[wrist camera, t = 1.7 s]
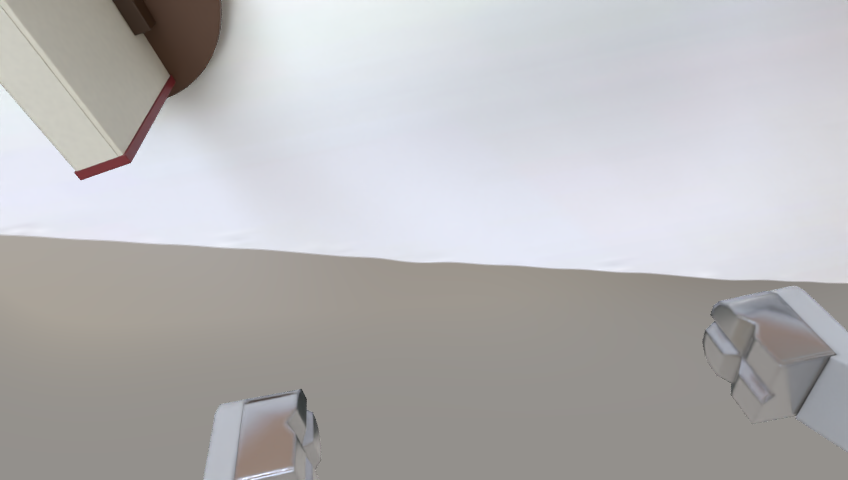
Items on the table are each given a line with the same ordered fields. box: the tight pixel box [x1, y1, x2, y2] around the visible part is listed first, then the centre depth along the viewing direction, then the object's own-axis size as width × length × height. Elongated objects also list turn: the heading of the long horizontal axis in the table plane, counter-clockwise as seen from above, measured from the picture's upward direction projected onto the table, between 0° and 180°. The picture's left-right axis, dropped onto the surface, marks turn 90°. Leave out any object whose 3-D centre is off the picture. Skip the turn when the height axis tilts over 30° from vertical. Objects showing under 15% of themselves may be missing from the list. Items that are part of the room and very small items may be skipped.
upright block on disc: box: [0, 0, 222, 180], centre depth 31 cm, size 16×16×13 cm
